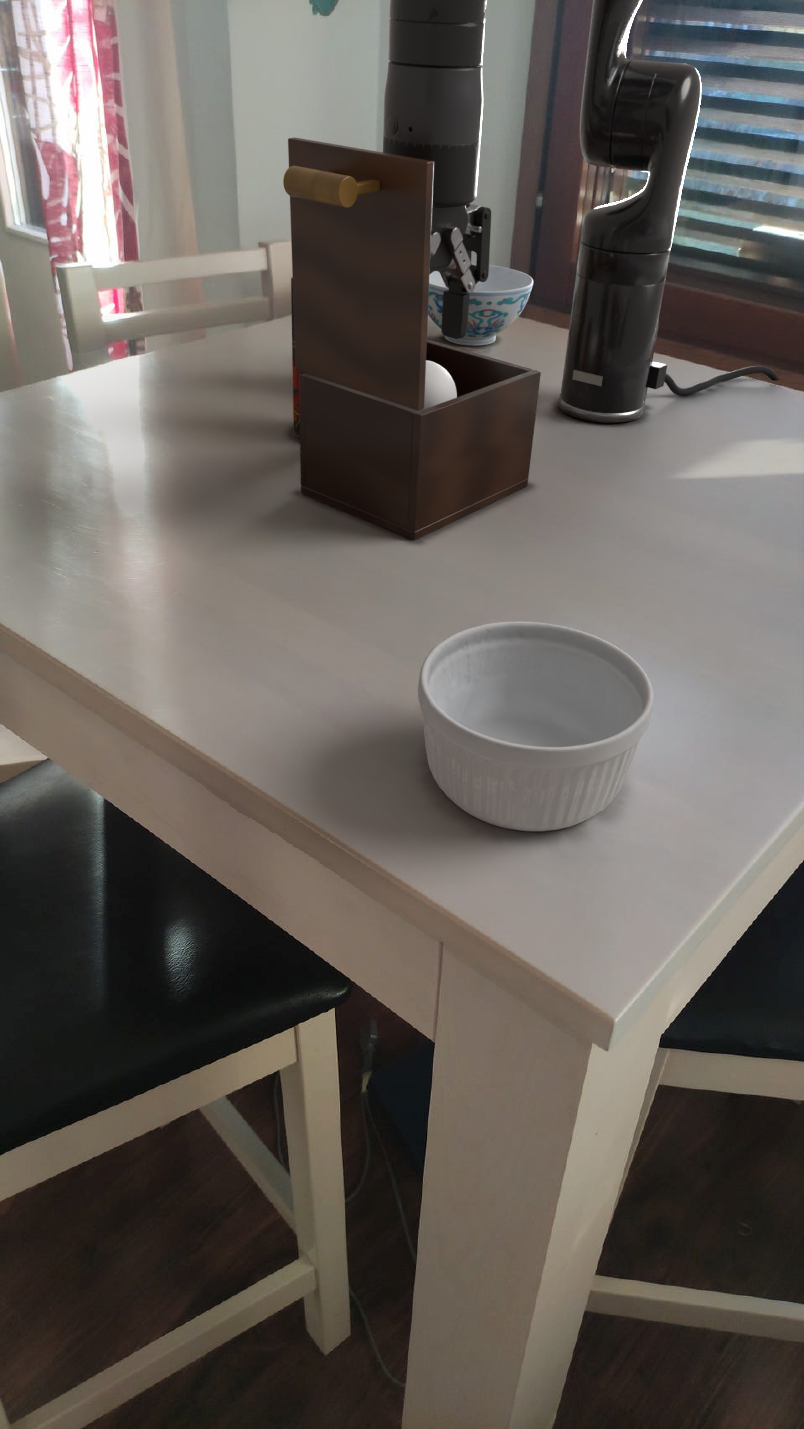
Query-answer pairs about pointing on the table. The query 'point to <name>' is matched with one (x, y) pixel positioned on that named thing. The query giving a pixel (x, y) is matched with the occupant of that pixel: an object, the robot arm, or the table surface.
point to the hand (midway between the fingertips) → (422, 346)
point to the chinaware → (485, 304)
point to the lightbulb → (438, 385)
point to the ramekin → (531, 722)
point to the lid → (361, 267)
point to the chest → (420, 444)
